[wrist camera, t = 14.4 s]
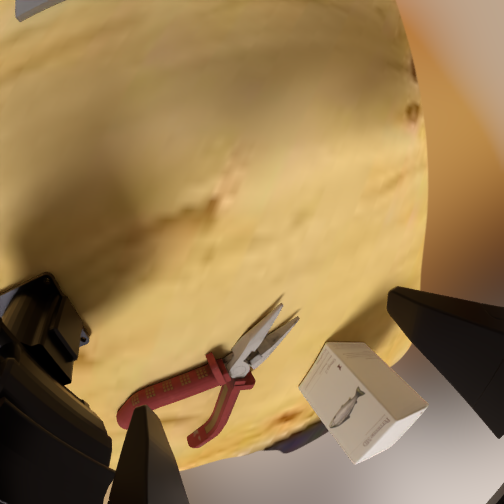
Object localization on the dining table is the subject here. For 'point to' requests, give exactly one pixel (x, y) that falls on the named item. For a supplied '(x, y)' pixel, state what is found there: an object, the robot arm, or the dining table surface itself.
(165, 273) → the dining table surface
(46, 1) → the docking plate
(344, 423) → the supplement box
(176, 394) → the pliers
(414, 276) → the dining table surface
